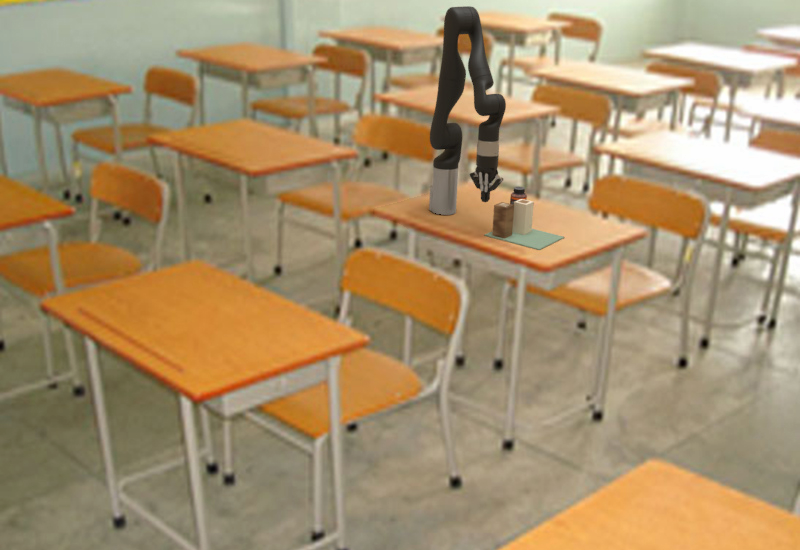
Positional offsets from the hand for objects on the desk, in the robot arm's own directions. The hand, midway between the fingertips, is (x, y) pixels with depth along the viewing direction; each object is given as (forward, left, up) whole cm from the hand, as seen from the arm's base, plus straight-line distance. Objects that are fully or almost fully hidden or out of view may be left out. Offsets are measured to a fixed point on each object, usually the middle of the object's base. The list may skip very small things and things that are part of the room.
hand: (485, 201), depth 342 cm
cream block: (+11, +8, -11) cm, 17 cm away
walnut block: (+8, 0, -11) cm, 13 cm away
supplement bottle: (0, +22, -11) cm, 25 cm away
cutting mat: (+14, +5, -11) cm, 18 cm away
